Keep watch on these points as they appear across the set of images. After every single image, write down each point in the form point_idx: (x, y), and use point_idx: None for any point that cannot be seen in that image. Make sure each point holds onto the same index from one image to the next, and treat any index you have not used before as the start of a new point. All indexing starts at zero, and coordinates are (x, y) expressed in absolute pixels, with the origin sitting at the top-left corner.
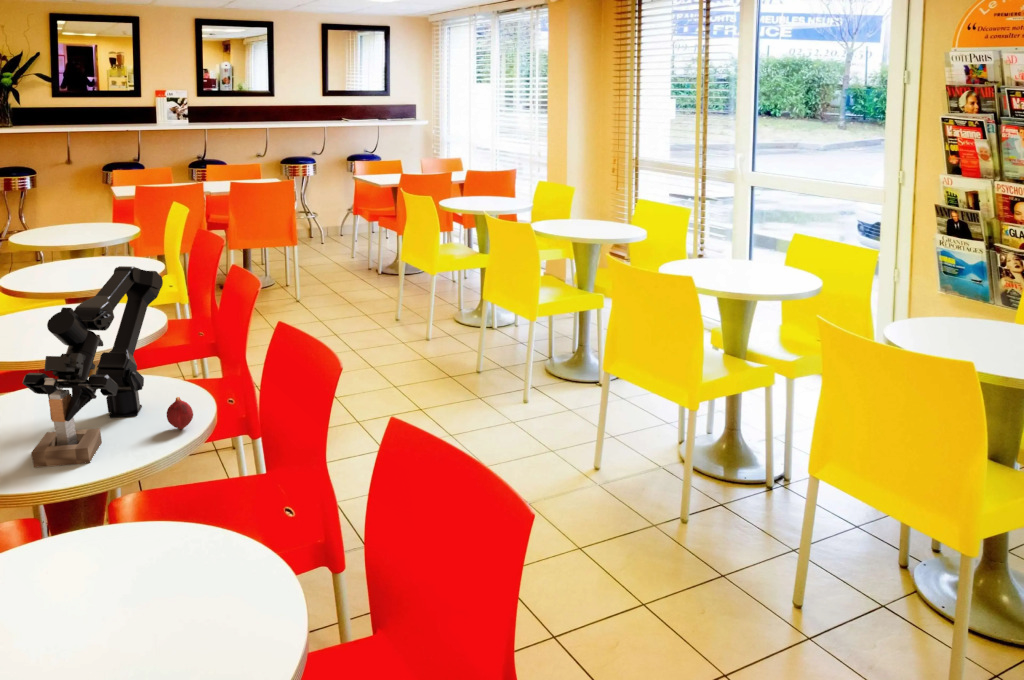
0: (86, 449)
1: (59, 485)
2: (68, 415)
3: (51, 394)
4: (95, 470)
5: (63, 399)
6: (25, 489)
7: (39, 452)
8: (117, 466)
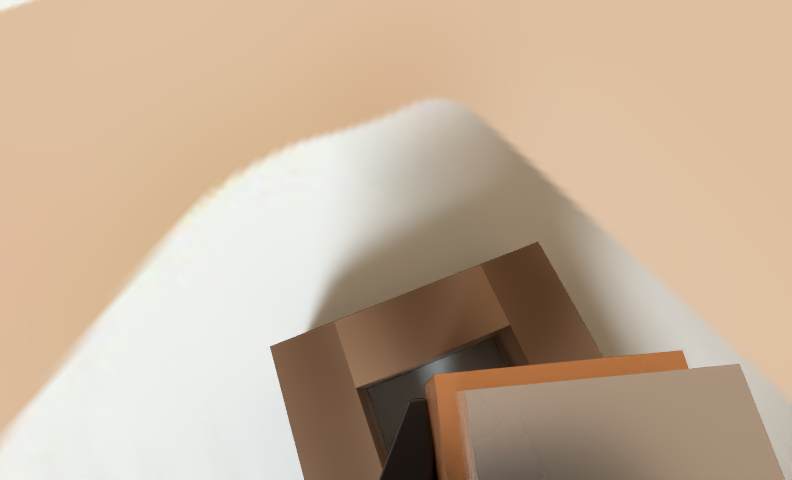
0: (280, 345)
1: (306, 155)
2: (399, 425)
3: (722, 411)
4: (233, 289)
5: (445, 456)
6: (406, 112)
7: (501, 257)
8: (153, 342)
